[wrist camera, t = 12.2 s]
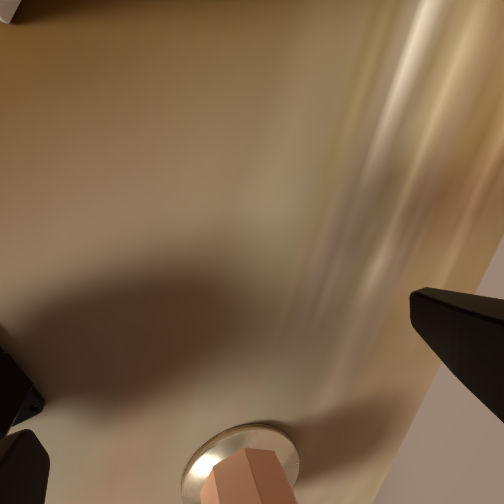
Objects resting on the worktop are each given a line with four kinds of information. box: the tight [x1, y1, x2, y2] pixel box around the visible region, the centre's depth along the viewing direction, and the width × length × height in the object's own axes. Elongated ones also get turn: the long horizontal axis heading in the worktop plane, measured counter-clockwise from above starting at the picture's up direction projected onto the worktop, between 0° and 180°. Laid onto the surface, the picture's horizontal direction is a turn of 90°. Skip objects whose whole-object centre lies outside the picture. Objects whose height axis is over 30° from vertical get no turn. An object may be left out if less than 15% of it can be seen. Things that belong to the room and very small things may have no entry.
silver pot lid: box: [181, 424, 300, 504], centre depth 24 cm, size 10×10×5 cm
